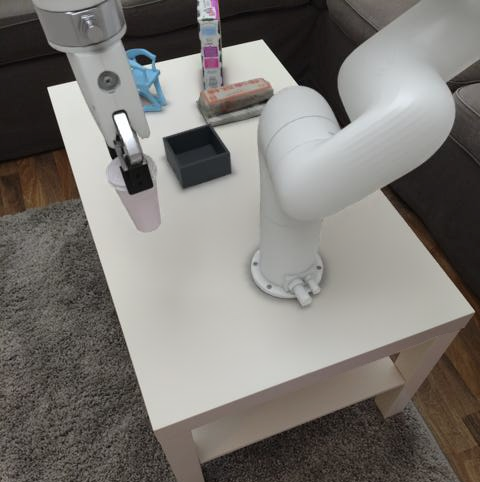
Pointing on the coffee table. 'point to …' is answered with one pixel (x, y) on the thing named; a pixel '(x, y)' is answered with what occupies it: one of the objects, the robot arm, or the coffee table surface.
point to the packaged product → (234, 101)
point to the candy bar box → (210, 43)
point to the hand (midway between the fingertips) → (131, 171)
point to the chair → (146, 79)
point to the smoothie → (137, 196)
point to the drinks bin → (197, 155)
